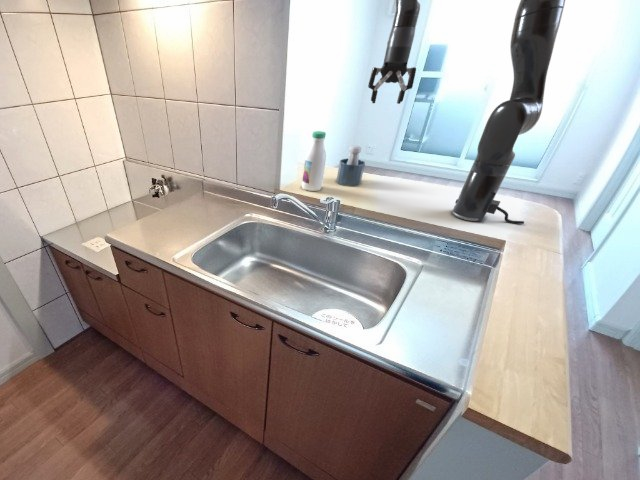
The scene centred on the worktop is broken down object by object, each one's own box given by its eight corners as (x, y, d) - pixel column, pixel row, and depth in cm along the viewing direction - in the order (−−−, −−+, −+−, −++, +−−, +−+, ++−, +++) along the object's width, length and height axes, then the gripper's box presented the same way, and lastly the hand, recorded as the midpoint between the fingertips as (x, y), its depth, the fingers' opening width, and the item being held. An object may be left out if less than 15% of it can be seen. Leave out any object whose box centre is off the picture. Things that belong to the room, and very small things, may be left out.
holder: (364, 181, 133) (369, 161, 128) (354, 187, 128) (358, 167, 123) (342, 176, 138) (346, 157, 133) (332, 182, 132) (335, 162, 127)
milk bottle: (321, 185, 130) (330, 130, 117) (320, 192, 124) (330, 135, 111) (302, 184, 131) (309, 129, 118) (300, 190, 125) (307, 133, 113)
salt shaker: (357, 182, 130) (365, 148, 122) (343, 182, 130) (350, 148, 122) (354, 178, 135) (361, 144, 126) (340, 177, 135) (346, 144, 127)
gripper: (378, 45, 103) (366, 104, 113) (426, 45, 101) (409, 105, 111) (374, 45, 109) (363, 101, 119) (419, 45, 107) (404, 102, 117)
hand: (385, 103), depth 115 cm, fingers open, 8 cm apart
